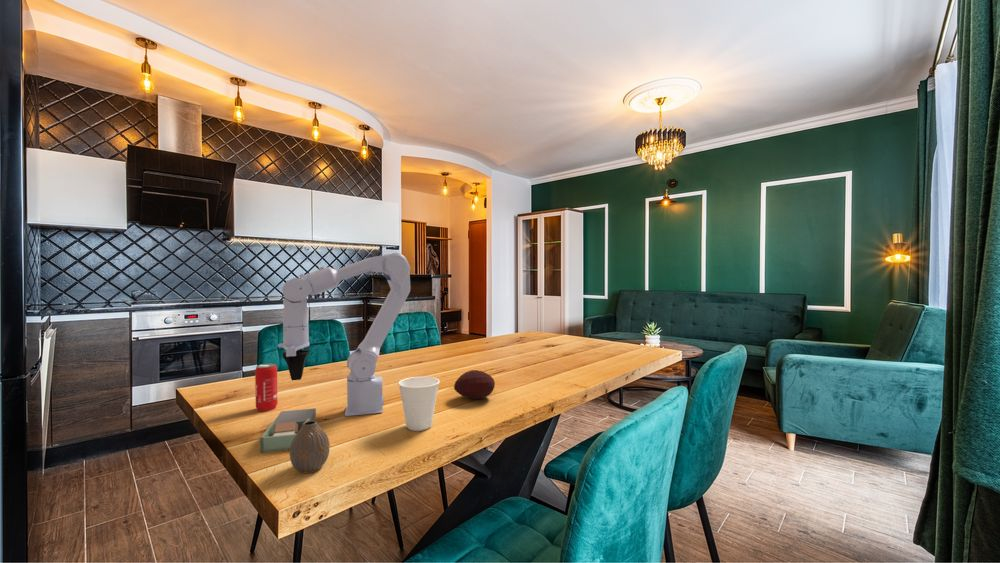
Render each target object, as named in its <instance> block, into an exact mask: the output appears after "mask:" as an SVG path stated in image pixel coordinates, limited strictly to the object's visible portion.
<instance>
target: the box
mask: <svg viewBox="0 0 1000 563" xmlns="http://www.w3.org/2000/svg"><path fill="white" fill-rule="evenodd" d="M307 421H310V419H307V420H306V422H307ZM274 431H275V422H274V421H271V423H270V424H269V426H268V427H267V428H266V429H265V431H264V432H263V434H262V435H261V436H260V438H259V448H260V449H259V452H260V454H262V453H269V452H271V453H272V452H280V451H288V450H289V451H290V446H291V443H292V440H293V438H294V437H295V435H296V434H297V433H296V434H289V435H279V436H273V435H274V434H275V432H274Z"/></svg>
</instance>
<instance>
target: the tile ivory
mask: <svg viewBox="0 0 1000 563" xmlns="http://www.w3.org/2000/svg"><path fill="white" fill-rule="evenodd" d="M289 434H295V430H294V431H285V432H276V433H275V434H274V435H273V436H279V435H289Z"/></svg>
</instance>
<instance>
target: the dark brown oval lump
mask: <svg viewBox="0 0 1000 563" xmlns="http://www.w3.org/2000/svg"><path fill="white" fill-rule="evenodd" d="M495 385H496V383H495V379H494V378H493V377H492V376H491V374H489V373H487V372H485V371H482V370H476V369H474V370H473V369H471V370H469V371H466V372H465V371H464V373H463V374H461V375H460V376H459V377H458V378H457V379H456V381H455V382H454V385H453V389H454V390H455V392H456V393H457V394H459V395H460V396H462V397H463V398H467V399H469V400H480V399H483V398H486V397H488V396H490V395H491V394H492V393H493V391H494V390H495Z"/></svg>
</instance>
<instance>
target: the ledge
mask: <svg viewBox="0 0 1000 563" xmlns="http://www.w3.org/2000/svg"><path fill="white" fill-rule="evenodd" d="M316 418H317V408H316V407H315V408H314V407H313V408H305V409H292V410H283V411H282V410H281V411H280V413H278V415H277V417H276V418H275V419H274V421H273V422H275V424H276V423H286V422H296V423H297V424H298V431H299V430H300V429H301V427H302V424H303V423H304V422H306V420H307V419H310V421H316Z"/></svg>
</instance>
